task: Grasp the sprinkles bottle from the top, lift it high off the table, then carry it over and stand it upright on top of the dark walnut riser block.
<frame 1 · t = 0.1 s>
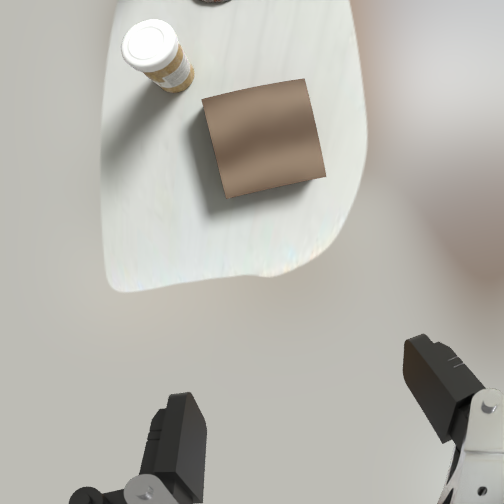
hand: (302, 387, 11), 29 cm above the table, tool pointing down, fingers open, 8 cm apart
sprinkles bottle: (176, 76, 32), on the table
walnut riser: (262, 137, 35), on the table
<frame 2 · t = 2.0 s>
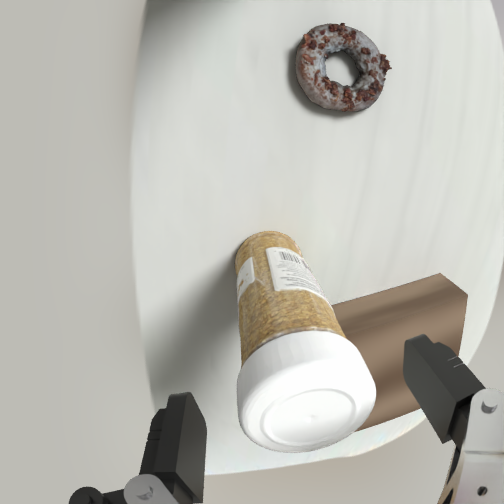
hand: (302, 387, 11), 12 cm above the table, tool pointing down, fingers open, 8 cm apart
sprinkles bottle: (268, 260, 22), on the table
walnut riser: (383, 346, 25), on the table
donut: (331, 66, 18), on the table
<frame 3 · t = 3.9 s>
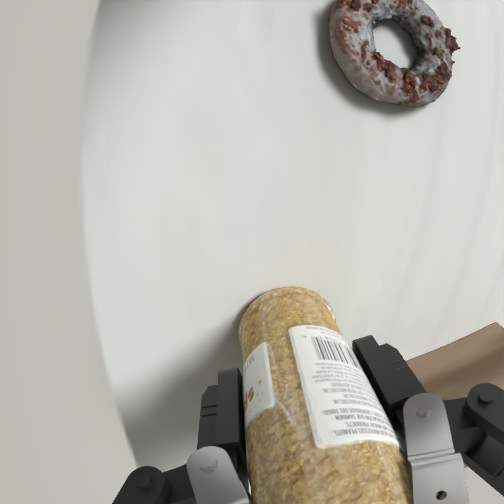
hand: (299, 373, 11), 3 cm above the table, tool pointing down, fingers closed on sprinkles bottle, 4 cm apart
sprinkles bottle: (286, 325, 15), on the table, touching gripper
walnut riser: (422, 409, 17), on the table
donut: (376, 42, 11), on the table
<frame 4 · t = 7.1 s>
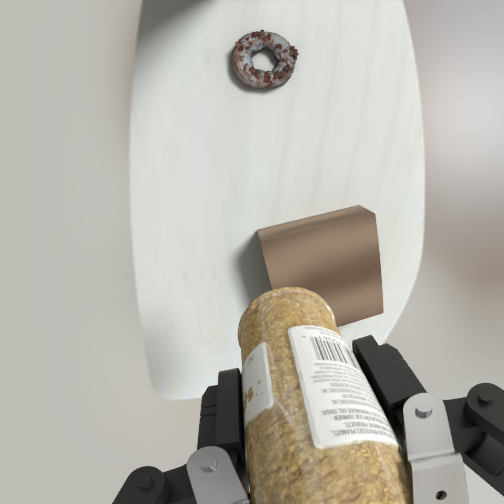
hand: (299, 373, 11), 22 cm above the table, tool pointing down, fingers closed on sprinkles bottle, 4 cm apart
sprinkles bottle: (286, 325, 15), point 18 cm above the table, touching gripper
walnut riser: (319, 265, 34), on the table
donut: (259, 60, 27), on the table
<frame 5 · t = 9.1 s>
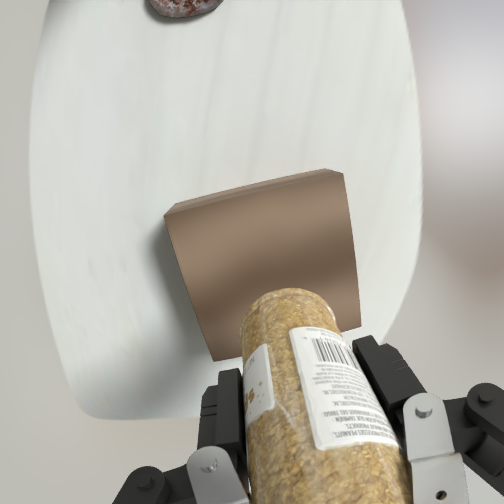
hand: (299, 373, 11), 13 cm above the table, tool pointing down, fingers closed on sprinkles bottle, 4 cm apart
sprinkles bottle: (287, 326, 15), point 10 cm above the table, touching gripper
walnut riser: (267, 256, 24), on the table
when the fingers open (9 cm above the table, at t = 10.8 s): sprinkles bottle drops 1 cm, resting on walnut riser.
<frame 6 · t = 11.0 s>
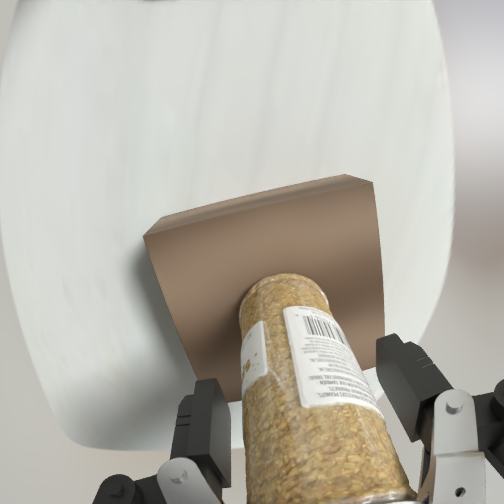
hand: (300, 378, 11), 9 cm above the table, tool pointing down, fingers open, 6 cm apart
sprinkles bottle: (284, 309, 16), point 4 cm above the table, touching walnut riser
walnut riser: (273, 280, 20), on the table
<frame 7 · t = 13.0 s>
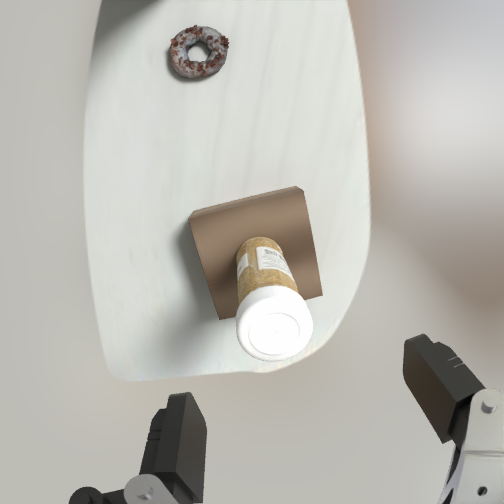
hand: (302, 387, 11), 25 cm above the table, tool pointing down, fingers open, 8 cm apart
sprinkles bottle: (260, 257, 31), point 4 cm above the table, touching walnut riser
walnut riser: (256, 247, 35), on the table
donut: (195, 53, 29), on the table
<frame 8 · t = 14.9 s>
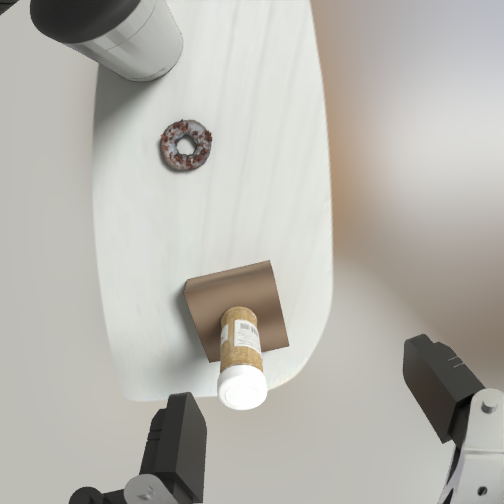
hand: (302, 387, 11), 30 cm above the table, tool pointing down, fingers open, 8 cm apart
sprinkles bottle: (239, 320, 39), point 4 cm above the table, touching walnut riser
walnut riser: (238, 306, 43), on the table
donut: (184, 143, 37), on the table
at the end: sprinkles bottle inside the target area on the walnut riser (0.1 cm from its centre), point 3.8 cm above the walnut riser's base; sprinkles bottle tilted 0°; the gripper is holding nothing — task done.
